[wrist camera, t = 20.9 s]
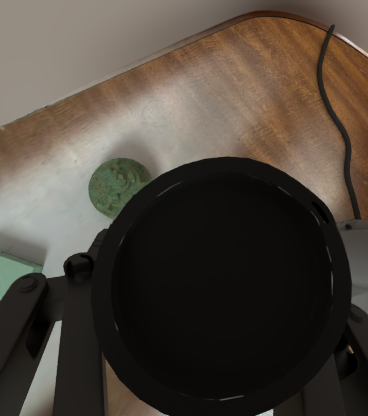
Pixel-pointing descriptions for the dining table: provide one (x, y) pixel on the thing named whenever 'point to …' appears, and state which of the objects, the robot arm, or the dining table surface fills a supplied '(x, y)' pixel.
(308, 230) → the coffee cup
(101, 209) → the decorative artifact
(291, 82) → the dining table surface
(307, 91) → the dining table surface
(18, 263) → the green button base
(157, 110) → the dining table surface
